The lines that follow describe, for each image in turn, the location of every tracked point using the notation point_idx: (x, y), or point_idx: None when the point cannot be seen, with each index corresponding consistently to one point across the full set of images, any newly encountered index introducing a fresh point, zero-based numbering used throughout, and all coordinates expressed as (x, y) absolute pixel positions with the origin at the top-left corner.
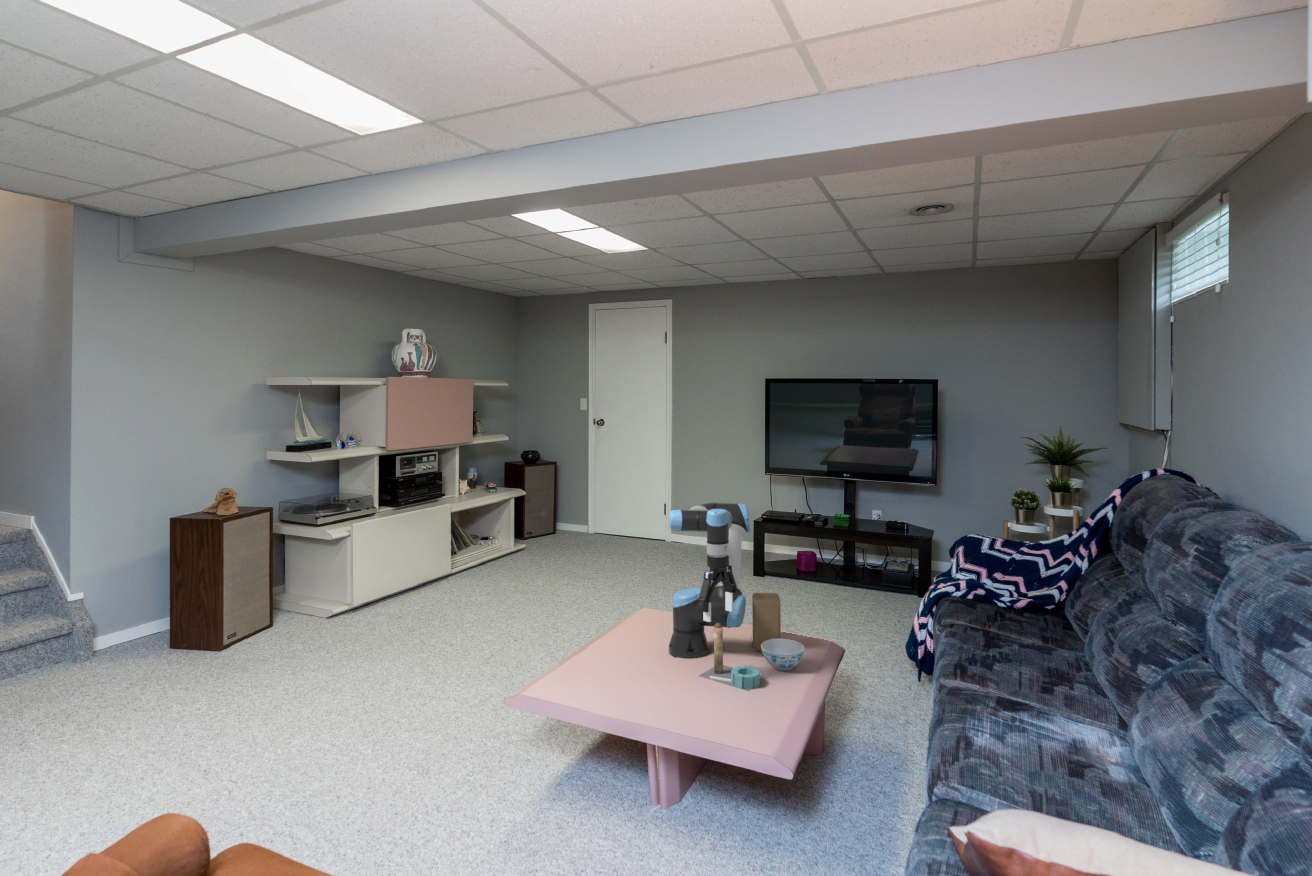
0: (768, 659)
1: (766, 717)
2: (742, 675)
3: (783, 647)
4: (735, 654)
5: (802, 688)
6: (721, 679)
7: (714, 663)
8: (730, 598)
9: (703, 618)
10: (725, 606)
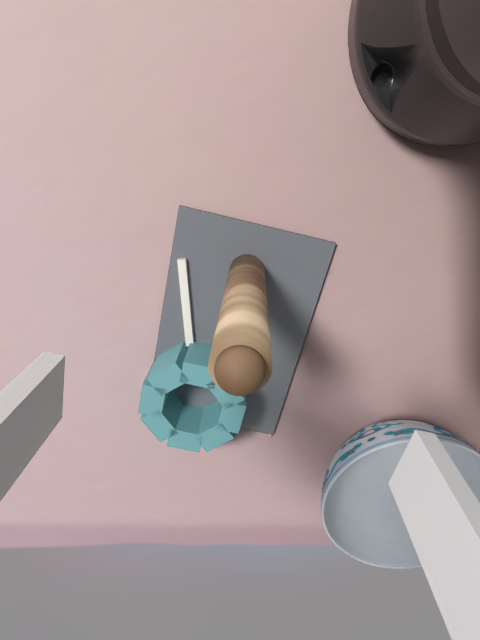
0: (339, 449)
1: (29, 479)
2: (152, 410)
3: (473, 473)
4: (473, 266)
5: (245, 516)
6: (182, 306)
7: (232, 269)
8: (445, 598)
9: (32, 363)
10: (431, 457)
